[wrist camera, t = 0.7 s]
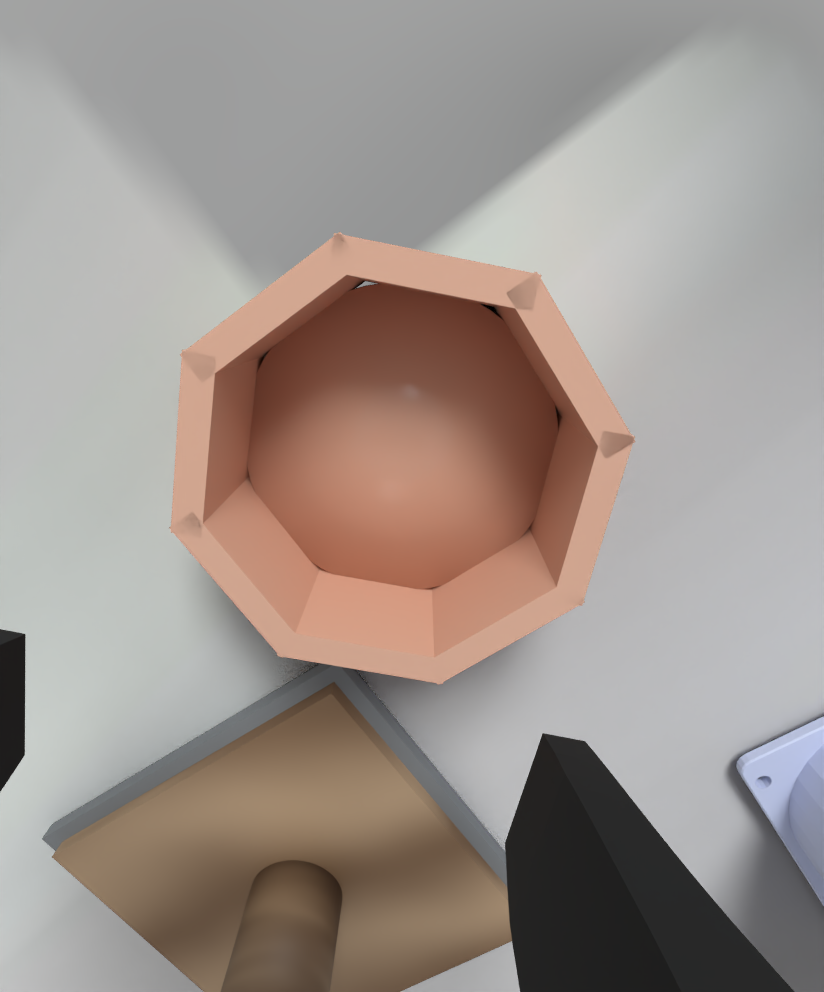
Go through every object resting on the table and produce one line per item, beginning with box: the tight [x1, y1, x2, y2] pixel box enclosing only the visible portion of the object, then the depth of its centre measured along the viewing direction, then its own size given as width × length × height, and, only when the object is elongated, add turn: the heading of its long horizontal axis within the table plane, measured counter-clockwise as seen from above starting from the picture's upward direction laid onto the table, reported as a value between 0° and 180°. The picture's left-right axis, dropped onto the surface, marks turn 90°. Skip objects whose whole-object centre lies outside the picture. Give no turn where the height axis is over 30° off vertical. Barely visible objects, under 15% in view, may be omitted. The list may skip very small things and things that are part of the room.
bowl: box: [169, 232, 635, 685], centre depth 15 cm, size 10×10×4 cm
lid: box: [52, 682, 512, 992], centre depth 19 cm, size 12×12×4 cm
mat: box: [42, 663, 507, 886], centre depth 22 cm, size 13×13×1 cm
